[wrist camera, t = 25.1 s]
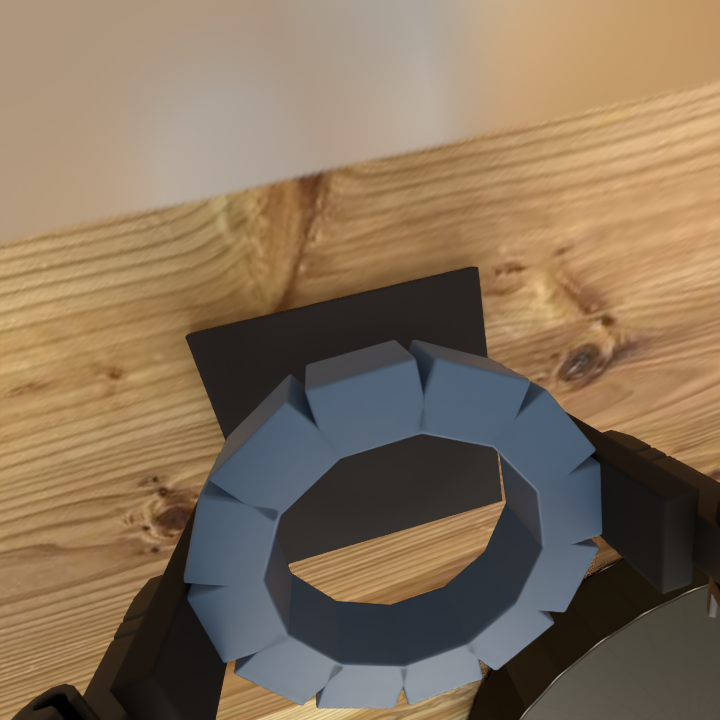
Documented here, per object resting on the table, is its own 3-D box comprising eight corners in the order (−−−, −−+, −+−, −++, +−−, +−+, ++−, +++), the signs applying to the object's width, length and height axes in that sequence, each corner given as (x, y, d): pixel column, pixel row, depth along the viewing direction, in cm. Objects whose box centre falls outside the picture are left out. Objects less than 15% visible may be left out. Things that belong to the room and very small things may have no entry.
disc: (745, 442, 19) (820, 473, 17) (865, 652, 28) (928, 696, 26) (375, 743, 22) (384, 814, 19) (590, 849, 31) (618, 908, 28)
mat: (275, 558, 17) (274, 568, 16) (189, 332, 13) (184, 335, 13) (496, 493, 18) (502, 501, 17) (472, 266, 14) (478, 266, 14)
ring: (142, 410, 8) (98, 450, 6) (542, 296, 9) (597, 304, 7) (279, 682, 11) (274, 756, 10) (564, 582, 12) (606, 635, 10)
